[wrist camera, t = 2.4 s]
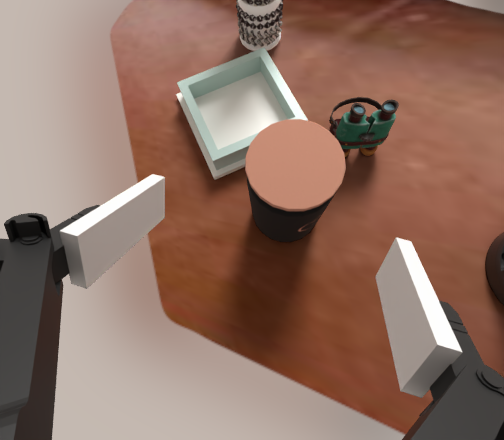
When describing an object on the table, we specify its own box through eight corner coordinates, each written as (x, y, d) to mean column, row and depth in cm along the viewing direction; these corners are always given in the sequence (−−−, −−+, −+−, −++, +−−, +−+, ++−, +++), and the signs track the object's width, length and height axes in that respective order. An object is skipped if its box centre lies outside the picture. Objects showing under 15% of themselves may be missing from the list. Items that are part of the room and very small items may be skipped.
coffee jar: (300, 255, 45) (321, 227, 28) (241, 226, 47) (226, 183, 29) (327, 198, 47) (362, 140, 30) (270, 173, 49) (272, 104, 32)
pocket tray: (311, 137, 50) (316, 122, 46) (214, 180, 49) (209, 168, 45) (267, 61, 55) (267, 41, 51) (177, 97, 54) (169, 80, 50)
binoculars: (393, 63, 42) (411, 116, 39) (370, 114, 52) (382, 159, 48) (333, 69, 43) (346, 122, 39) (321, 118, 52) (330, 164, 49)
